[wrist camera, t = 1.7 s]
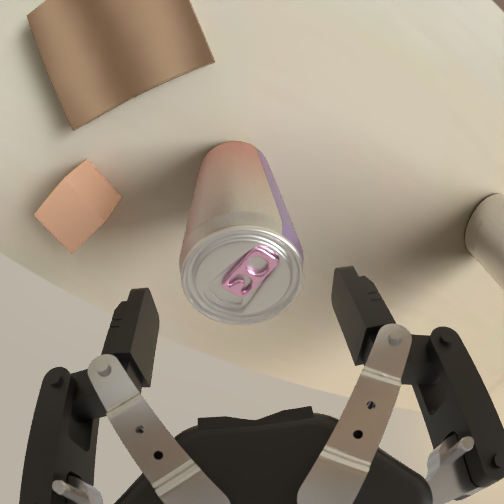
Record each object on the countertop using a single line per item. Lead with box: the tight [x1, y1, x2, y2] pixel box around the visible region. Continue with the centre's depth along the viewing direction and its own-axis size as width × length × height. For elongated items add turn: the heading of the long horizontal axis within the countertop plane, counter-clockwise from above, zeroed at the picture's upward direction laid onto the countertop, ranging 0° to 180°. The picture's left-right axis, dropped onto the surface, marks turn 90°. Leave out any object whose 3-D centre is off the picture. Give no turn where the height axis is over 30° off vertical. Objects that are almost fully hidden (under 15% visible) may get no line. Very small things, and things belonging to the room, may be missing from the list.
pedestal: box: [27, 0, 215, 131], centre depth 17 cm, size 12×12×3 cm
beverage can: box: [179, 141, 304, 325], centre depth 20 cm, size 6×6×15 cm
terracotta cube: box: [34, 159, 122, 254], centre depth 24 cm, size 5×5×5 cm
